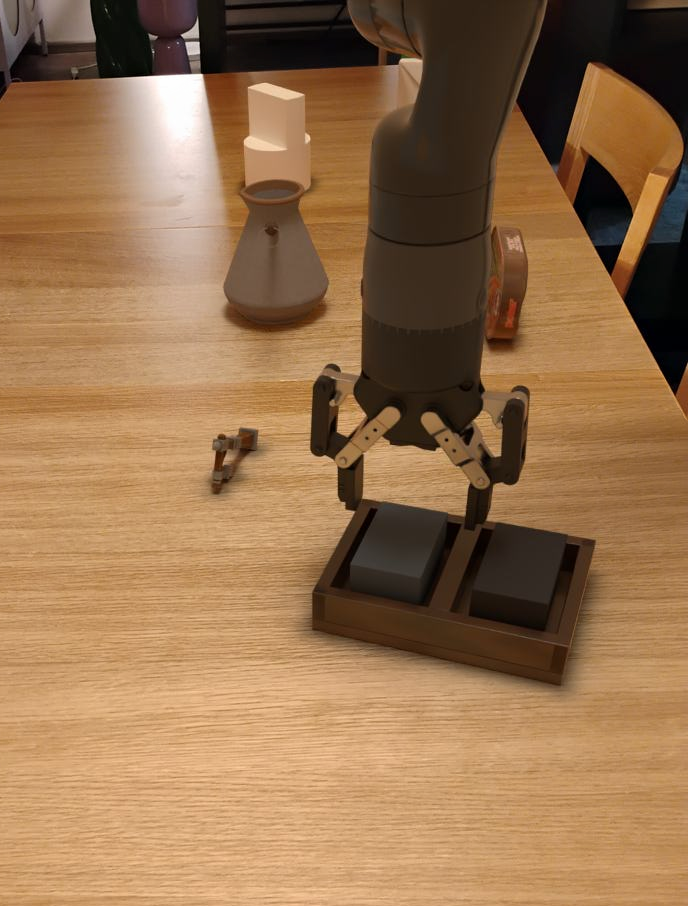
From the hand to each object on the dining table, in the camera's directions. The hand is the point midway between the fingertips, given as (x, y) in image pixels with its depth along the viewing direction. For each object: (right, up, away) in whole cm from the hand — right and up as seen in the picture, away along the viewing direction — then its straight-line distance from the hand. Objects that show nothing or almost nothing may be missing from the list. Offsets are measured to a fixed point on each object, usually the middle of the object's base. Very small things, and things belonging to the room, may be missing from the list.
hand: (411, 514), depth 73 cm
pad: (0, -5, +3) cm, 5 cm away
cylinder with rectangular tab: (-5, +54, +69) cm, 87 cm away
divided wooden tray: (+3, -6, +2) cm, 7 cm away
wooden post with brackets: (-12, +6, +18) cm, 22 cm away
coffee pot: (-7, +24, +37) cm, 44 cm away
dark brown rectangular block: (+7, -7, 0) cm, 10 cm away
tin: (+16, +24, +35) cm, 45 cm away
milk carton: (+14, +46, +59) cm, 76 cm away
